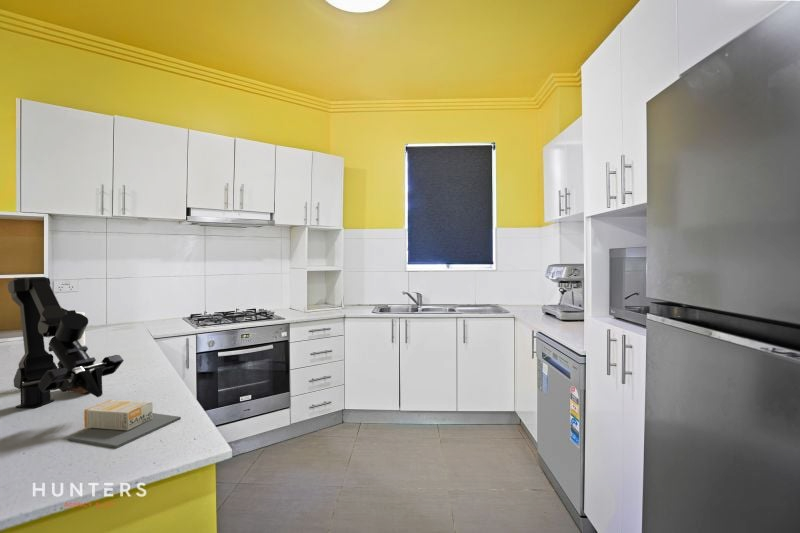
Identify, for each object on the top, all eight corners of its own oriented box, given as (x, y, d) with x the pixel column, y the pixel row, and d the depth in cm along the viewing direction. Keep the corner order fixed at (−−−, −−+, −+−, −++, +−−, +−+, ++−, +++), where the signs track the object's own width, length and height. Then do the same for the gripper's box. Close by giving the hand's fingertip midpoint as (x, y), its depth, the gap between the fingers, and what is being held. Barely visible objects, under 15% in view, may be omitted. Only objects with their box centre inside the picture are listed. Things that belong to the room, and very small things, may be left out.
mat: (68, 439, 98) (68, 437, 98) (136, 413, 115) (136, 410, 115) (116, 448, 93) (116, 445, 93) (180, 418, 110) (180, 416, 110)
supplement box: (83, 428, 103) (127, 431, 101) (83, 409, 103) (127, 412, 101) (112, 416, 111) (153, 419, 109) (111, 399, 111) (153, 401, 109)
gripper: (90, 363, 120) (118, 403, 117) (15, 381, 103) (45, 428, 99) (109, 338, 118) (138, 378, 115) (35, 352, 100) (67, 400, 97)
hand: (100, 395), depth 107 cm, fingers closed
